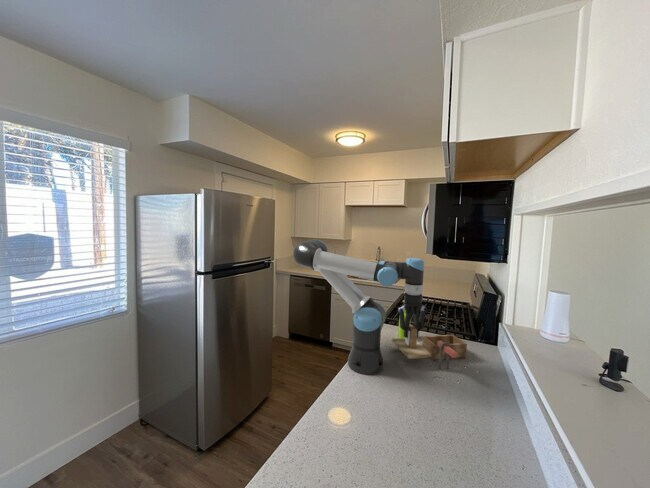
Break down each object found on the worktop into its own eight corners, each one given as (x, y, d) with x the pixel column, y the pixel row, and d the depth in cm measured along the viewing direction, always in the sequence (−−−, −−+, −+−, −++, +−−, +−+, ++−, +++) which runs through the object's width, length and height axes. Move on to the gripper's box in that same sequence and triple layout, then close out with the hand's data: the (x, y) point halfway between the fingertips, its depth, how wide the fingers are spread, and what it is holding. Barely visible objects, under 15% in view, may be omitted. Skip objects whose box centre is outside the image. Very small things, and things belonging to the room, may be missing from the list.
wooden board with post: (391, 343, 131) (392, 320, 130) (412, 341, 133) (413, 319, 132) (408, 361, 115) (409, 335, 114) (431, 359, 117) (432, 334, 116)
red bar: (452, 357, 108) (453, 353, 108) (436, 344, 119) (437, 340, 119) (457, 357, 109) (457, 353, 108) (440, 344, 119) (441, 340, 119)
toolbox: (439, 369, 115) (441, 343, 114) (419, 350, 132) (420, 327, 130) (476, 366, 118) (478, 341, 117) (451, 348, 135) (453, 325, 133)
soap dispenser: (413, 339, 143) (415, 302, 141) (399, 339, 143) (401, 302, 141) (409, 334, 149) (411, 299, 147) (397, 334, 149) (398, 298, 147)
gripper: (400, 296, 116) (398, 348, 119) (434, 294, 119) (431, 346, 121) (393, 291, 124) (390, 341, 126) (425, 290, 126) (422, 339, 129)
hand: (410, 343), depth 124 cm, fingers closed on wooden board with post, 3 cm apart
